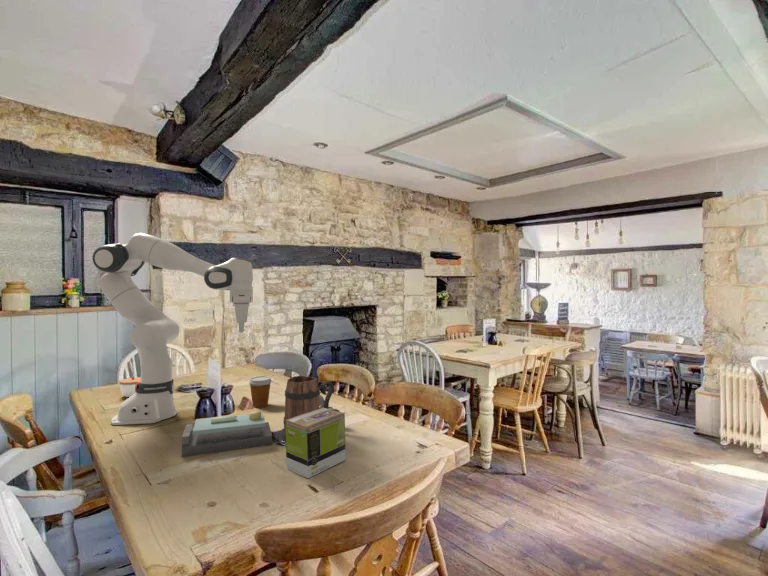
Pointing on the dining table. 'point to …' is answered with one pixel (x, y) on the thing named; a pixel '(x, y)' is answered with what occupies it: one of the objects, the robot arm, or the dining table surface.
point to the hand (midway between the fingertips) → (241, 332)
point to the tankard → (303, 397)
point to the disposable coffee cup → (260, 390)
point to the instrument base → (224, 440)
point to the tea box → (315, 441)
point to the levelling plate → (229, 423)
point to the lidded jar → (128, 386)
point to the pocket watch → (322, 402)
